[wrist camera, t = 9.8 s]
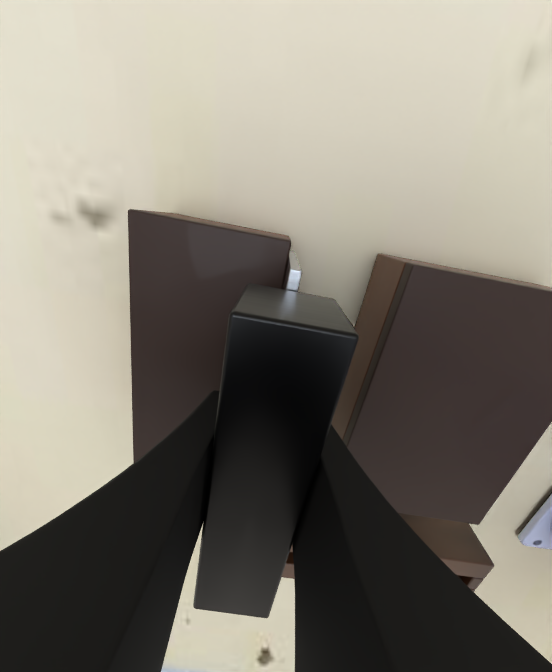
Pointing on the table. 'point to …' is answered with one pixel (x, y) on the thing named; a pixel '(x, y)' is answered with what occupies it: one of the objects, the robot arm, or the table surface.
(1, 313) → the table surface
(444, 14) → the table surface
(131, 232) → the brown rectangular block
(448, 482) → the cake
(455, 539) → the knife block
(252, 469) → the bench scraper
